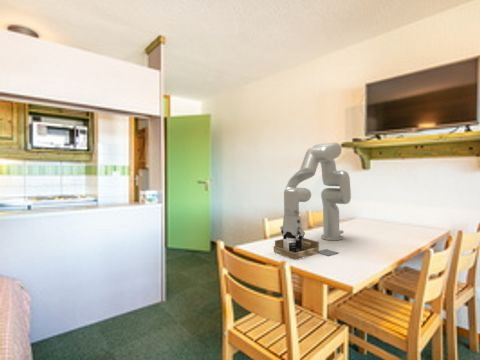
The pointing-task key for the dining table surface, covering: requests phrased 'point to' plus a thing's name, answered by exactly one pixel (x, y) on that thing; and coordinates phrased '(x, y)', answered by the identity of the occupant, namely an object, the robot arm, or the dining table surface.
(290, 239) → the medicine bottle
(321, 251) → the mat
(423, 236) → the dining table surface
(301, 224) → the robot arm
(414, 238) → the dining table surface
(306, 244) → the offcut stack
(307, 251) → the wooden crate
